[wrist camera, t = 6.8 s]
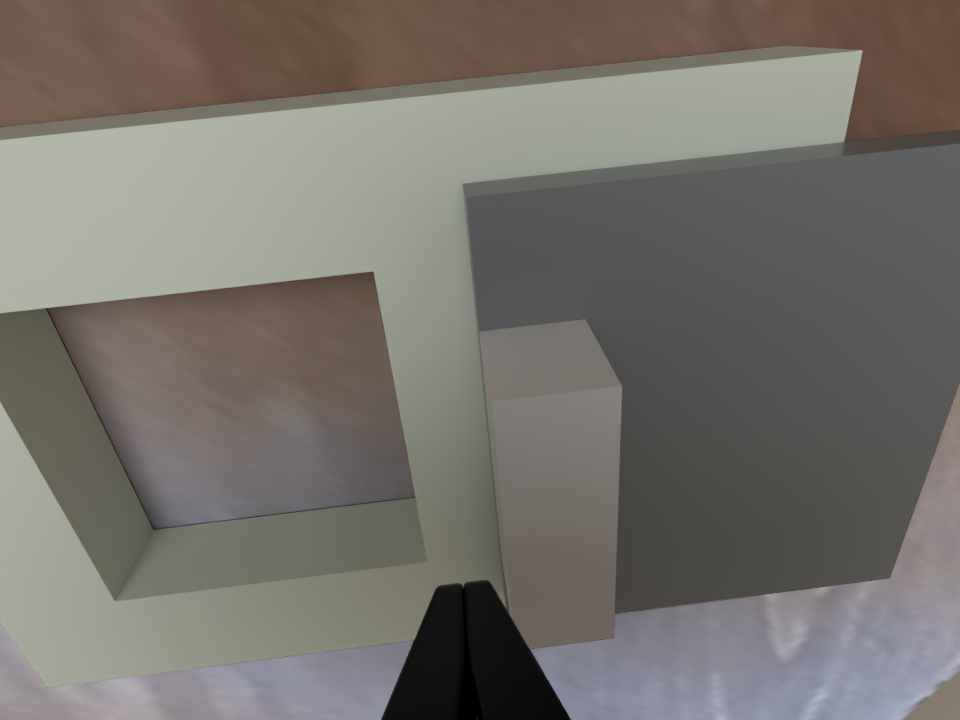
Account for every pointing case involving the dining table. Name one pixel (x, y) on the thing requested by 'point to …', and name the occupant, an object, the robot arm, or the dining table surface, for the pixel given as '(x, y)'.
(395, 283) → the puzzle board
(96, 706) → the dining table surface
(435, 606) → the robot arm
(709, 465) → the sliding cover
